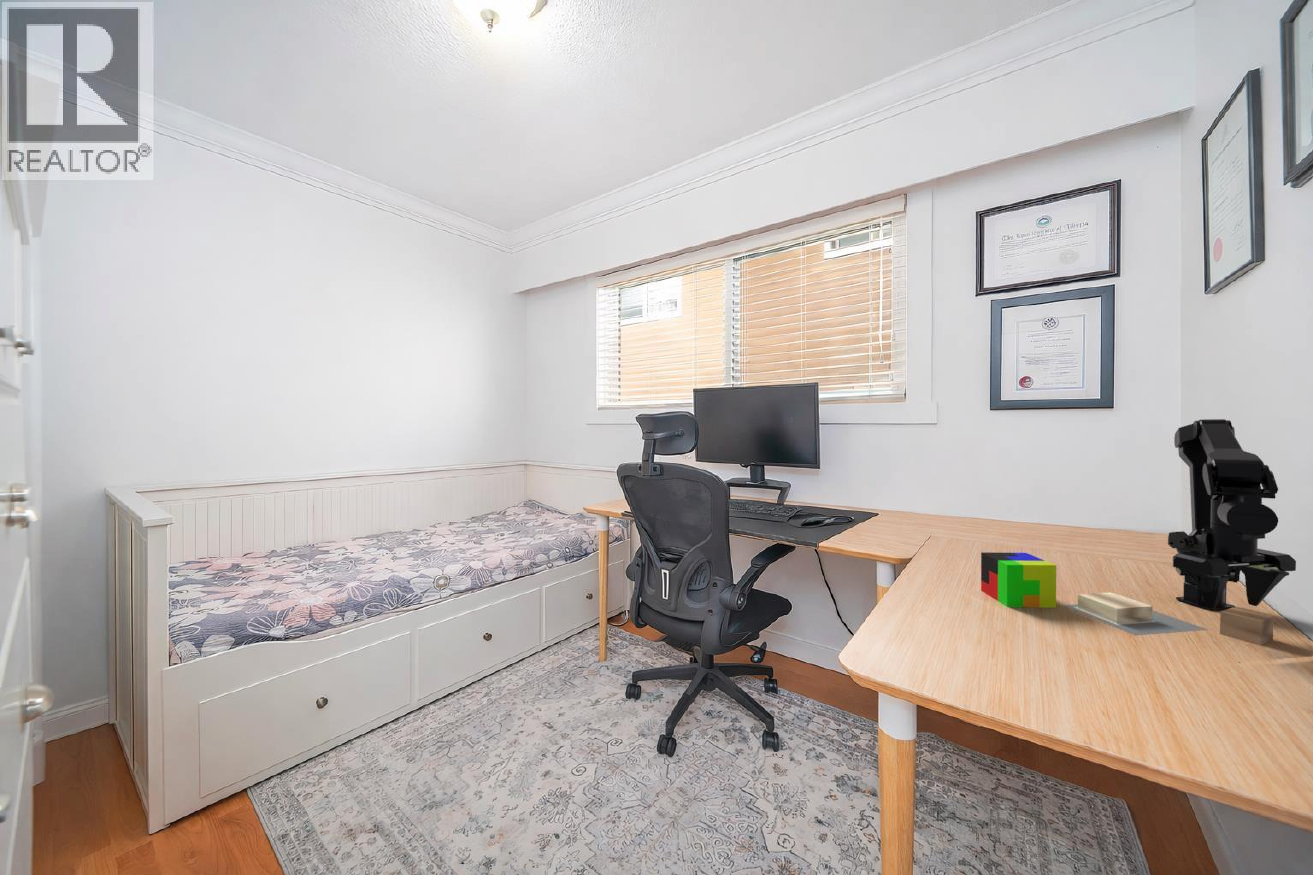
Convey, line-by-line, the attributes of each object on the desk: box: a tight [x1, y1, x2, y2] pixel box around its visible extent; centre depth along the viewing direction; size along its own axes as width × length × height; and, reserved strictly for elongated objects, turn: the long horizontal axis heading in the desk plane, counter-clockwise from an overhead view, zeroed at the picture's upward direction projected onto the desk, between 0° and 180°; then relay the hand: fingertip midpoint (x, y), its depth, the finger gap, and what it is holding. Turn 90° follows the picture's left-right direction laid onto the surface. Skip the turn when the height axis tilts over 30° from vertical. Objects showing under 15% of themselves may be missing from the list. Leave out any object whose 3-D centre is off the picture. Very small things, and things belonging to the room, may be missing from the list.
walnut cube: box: [1219, 607, 1275, 646], centre depth 90 cm, size 5×5×5 cm
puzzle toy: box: [980, 551, 1057, 608], centre depth 111 cm, size 10×10×10 cm
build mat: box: [1060, 603, 1209, 636], centre depth 100 cm, size 16×15×1 cm
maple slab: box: [1077, 591, 1153, 623], centre depth 101 cm, size 8×8×3 cm
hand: (1231, 606), depth 91 cm, fingers open, 9 cm apart
